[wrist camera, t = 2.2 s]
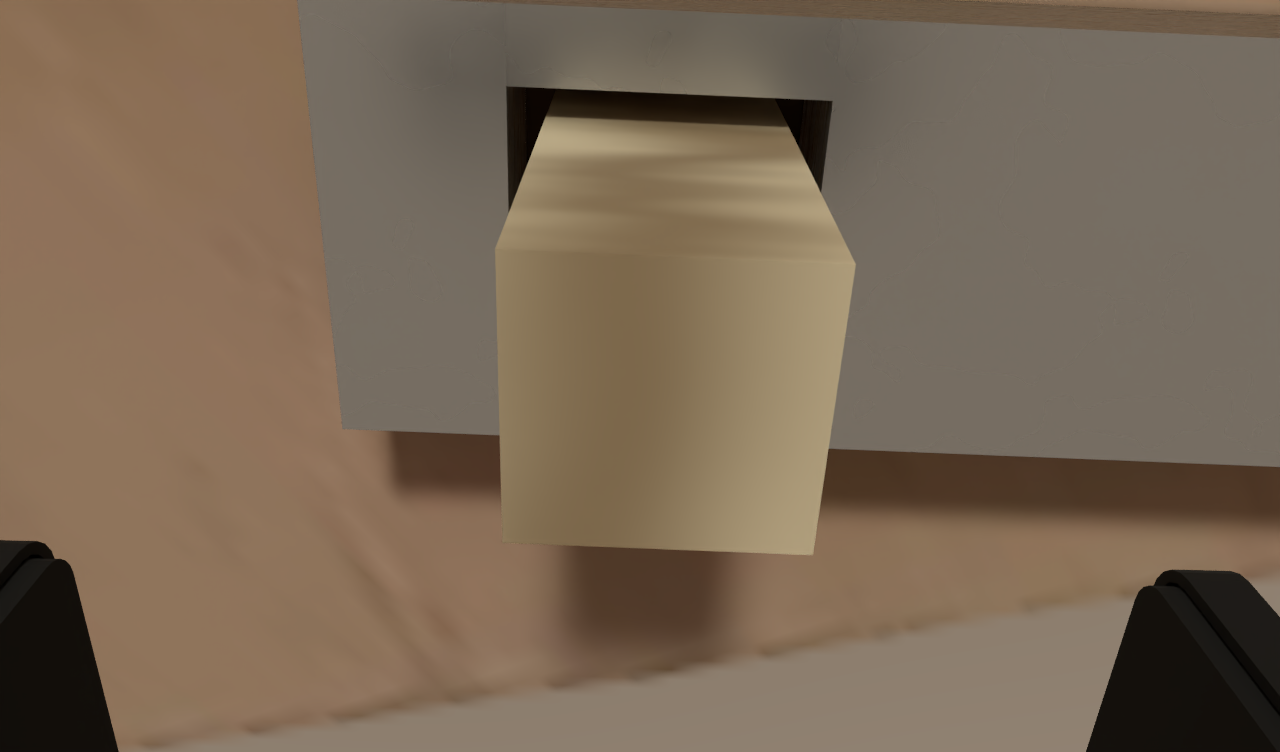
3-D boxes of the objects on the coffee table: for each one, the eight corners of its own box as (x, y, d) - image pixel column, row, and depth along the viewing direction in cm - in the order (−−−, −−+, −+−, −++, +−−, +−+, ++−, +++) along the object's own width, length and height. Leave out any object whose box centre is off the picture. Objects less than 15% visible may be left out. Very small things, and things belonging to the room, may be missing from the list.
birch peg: (773, 95, 20) (855, 264, 12) (753, 295, 22) (812, 555, 14) (556, 86, 20) (495, 249, 12) (556, 287, 22) (502, 542, 14)
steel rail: (1524, 27, 19) (1666, 56, 17) (1367, 400, 23) (1462, 474, 20) (346, -28, 19) (296, -7, 16) (379, 360, 23) (342, 428, 20)
